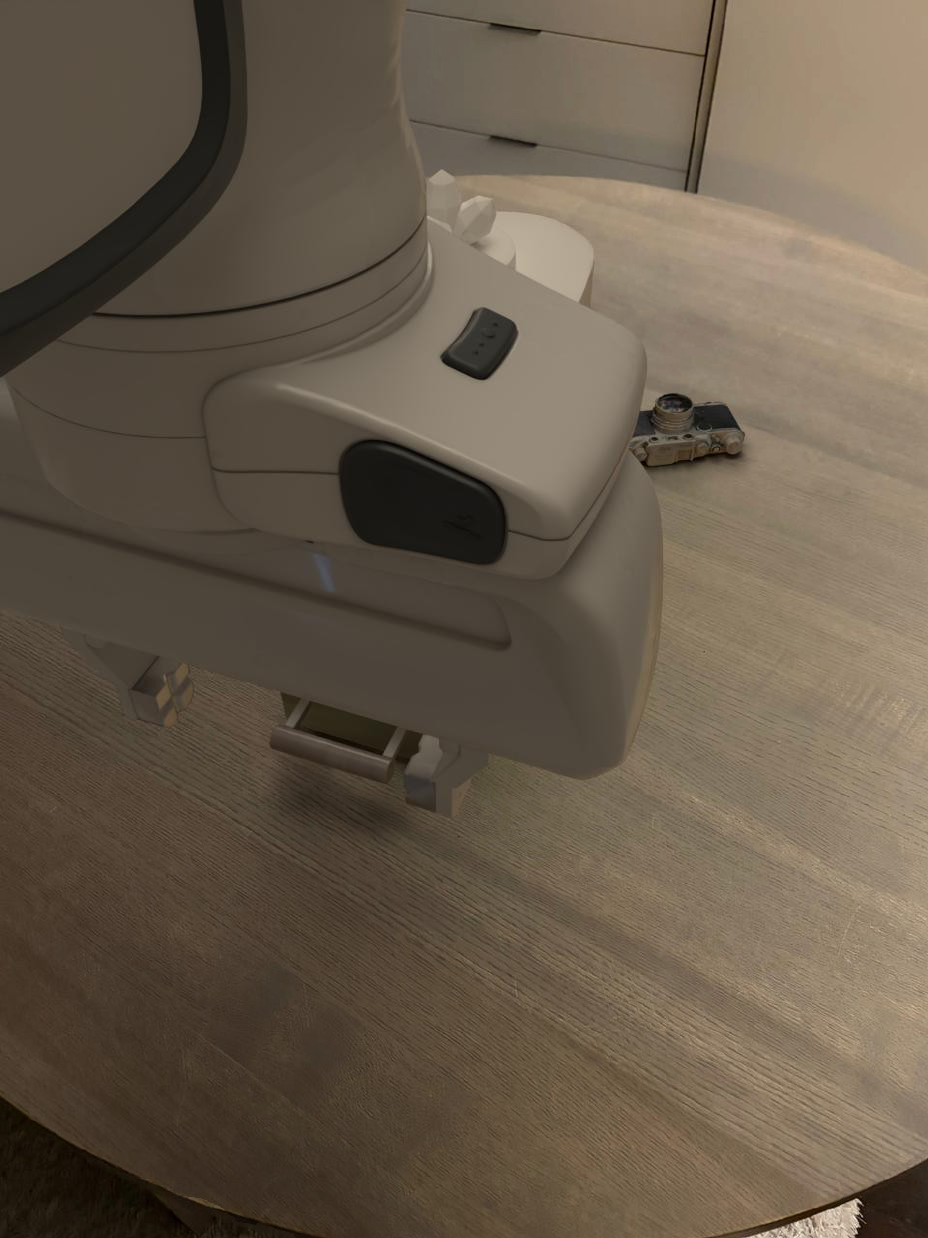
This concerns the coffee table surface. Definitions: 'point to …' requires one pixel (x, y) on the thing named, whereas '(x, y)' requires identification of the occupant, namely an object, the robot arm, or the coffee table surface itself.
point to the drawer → (347, 728)
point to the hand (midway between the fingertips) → (296, 750)
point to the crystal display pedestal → (516, 239)
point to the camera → (684, 431)
